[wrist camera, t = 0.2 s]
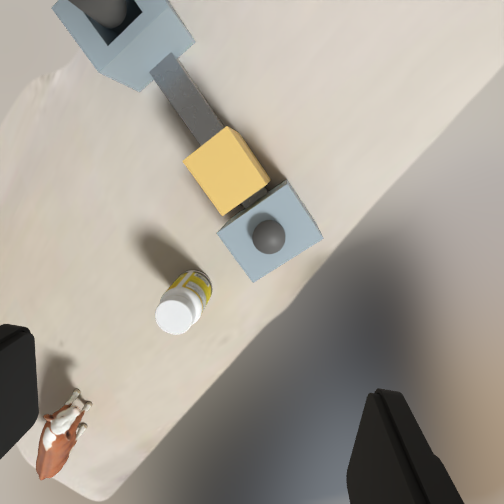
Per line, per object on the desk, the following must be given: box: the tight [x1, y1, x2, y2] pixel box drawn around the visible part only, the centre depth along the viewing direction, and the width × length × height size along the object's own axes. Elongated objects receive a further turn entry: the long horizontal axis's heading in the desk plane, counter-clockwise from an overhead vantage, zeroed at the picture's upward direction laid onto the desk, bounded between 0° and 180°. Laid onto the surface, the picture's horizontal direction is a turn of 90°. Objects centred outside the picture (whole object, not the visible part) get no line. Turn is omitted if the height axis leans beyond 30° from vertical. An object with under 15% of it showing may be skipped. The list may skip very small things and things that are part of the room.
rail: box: [149, 52, 268, 209], centre depth 35 cm, size 3×17×2 cm, turn 35°
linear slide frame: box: [52, 0, 324, 283], centre depth 31 cm, size 8×29×9 cm, turn 35°
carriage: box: [183, 126, 271, 216], centre depth 32 cm, size 5×6×8 cm
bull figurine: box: [36, 389, 92, 480], centre depth 44 cm, size 4×13×8 cm, turn 154°
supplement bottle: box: [155, 270, 212, 335], centre depth 37 cm, size 5×5×8 cm
